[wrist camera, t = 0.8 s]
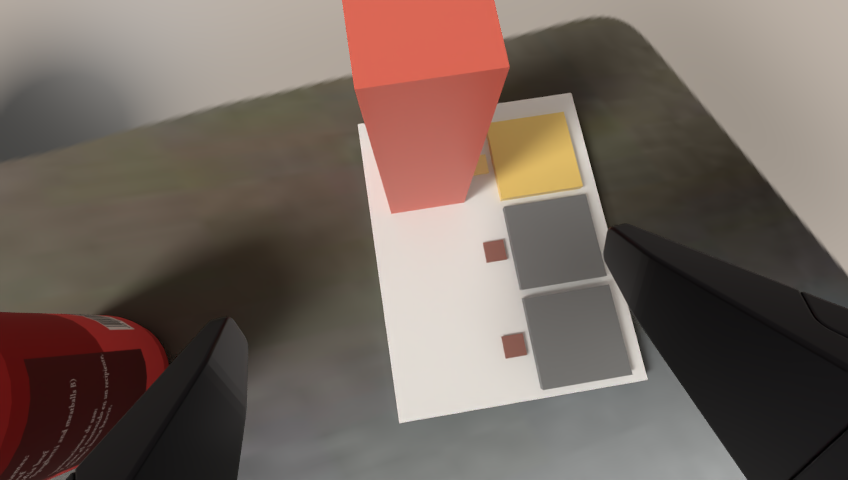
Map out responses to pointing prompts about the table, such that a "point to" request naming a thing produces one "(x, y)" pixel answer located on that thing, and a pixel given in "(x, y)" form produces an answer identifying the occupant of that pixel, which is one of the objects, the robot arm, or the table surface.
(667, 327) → the robot arm
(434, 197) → the tall red square pillar
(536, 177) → the plate
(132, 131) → the table surface
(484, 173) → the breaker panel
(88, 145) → the table surface
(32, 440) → the canned food
